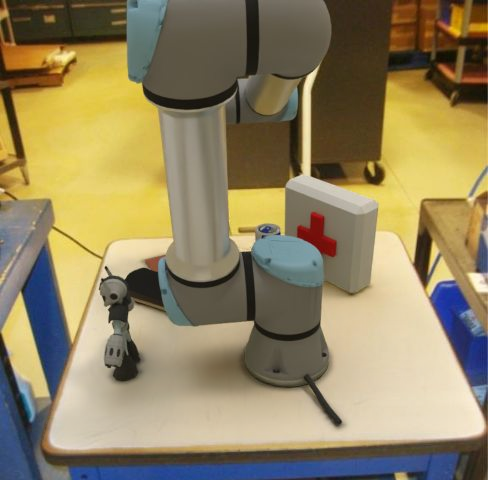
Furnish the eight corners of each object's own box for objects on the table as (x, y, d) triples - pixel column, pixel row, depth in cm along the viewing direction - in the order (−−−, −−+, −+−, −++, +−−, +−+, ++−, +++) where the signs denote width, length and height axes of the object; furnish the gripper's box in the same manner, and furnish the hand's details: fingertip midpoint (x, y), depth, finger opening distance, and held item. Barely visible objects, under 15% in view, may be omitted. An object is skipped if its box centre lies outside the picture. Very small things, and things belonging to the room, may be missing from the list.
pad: (235, 254, 144) (235, 253, 144) (155, 275, 138) (155, 274, 137) (222, 241, 150) (222, 240, 150) (144, 260, 143) (144, 259, 143)
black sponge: (202, 298, 129) (201, 283, 127) (178, 318, 124) (177, 303, 121) (141, 279, 136) (139, 265, 134) (116, 297, 131) (113, 283, 128)
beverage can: (273, 300, 128) (273, 235, 119) (252, 294, 130) (250, 230, 121) (284, 288, 132) (285, 225, 123) (263, 283, 134) (262, 220, 125)
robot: (134, 402, 104) (117, 304, 92) (105, 404, 104) (84, 305, 92) (146, 334, 120) (132, 242, 108) (121, 334, 120) (105, 243, 108)
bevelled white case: (277, 264, 140) (278, 181, 128) (301, 252, 144) (304, 170, 133) (349, 300, 127) (357, 212, 115) (373, 286, 131) (383, 199, 120)
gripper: (225, 145, 119) (230, 252, 133) (199, 126, 129) (206, 228, 142) (189, 152, 116) (198, 261, 130) (166, 132, 126) (176, 235, 140)
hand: (202, 243), depth 136 cm, fingers closed
